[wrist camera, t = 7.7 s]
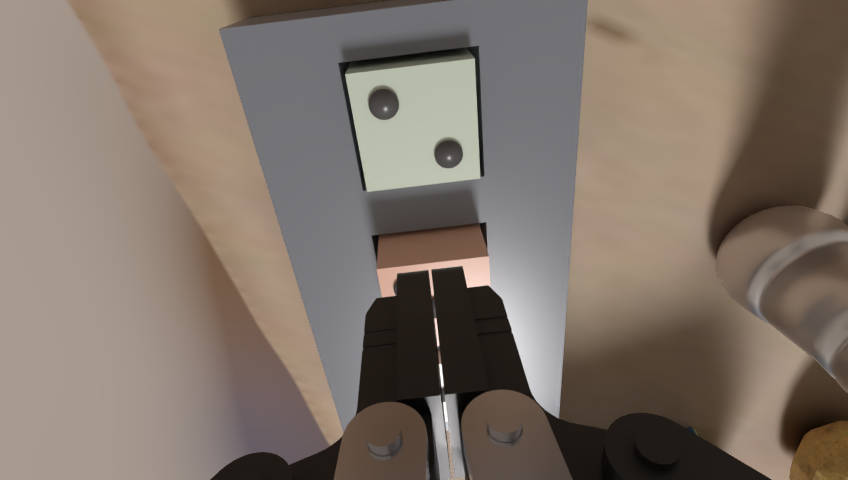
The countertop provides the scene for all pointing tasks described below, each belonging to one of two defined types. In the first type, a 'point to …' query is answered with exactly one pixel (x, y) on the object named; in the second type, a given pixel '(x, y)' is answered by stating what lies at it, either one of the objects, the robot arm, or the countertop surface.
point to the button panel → (428, 204)
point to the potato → (822, 454)
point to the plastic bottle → (793, 279)
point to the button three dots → (433, 256)
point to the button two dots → (416, 118)
